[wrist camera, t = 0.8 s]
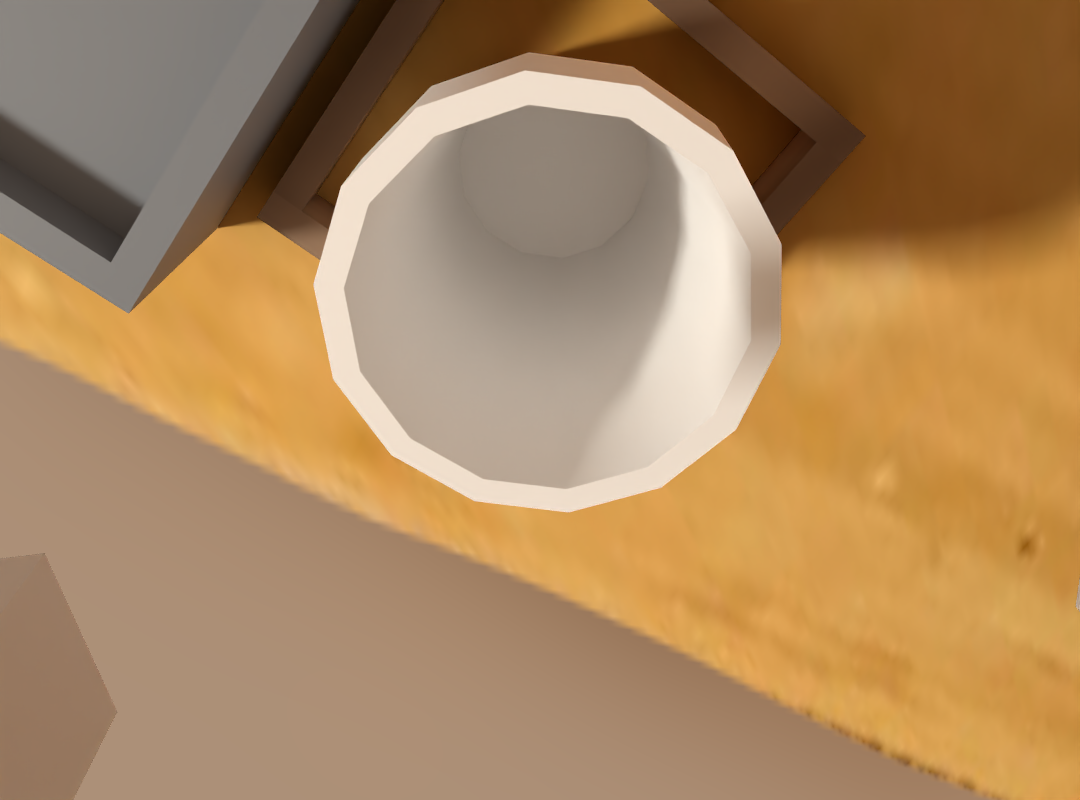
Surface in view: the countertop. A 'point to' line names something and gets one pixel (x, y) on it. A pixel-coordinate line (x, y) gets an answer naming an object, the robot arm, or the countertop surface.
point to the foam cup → (550, 285)
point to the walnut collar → (684, 3)
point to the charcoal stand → (142, 123)
